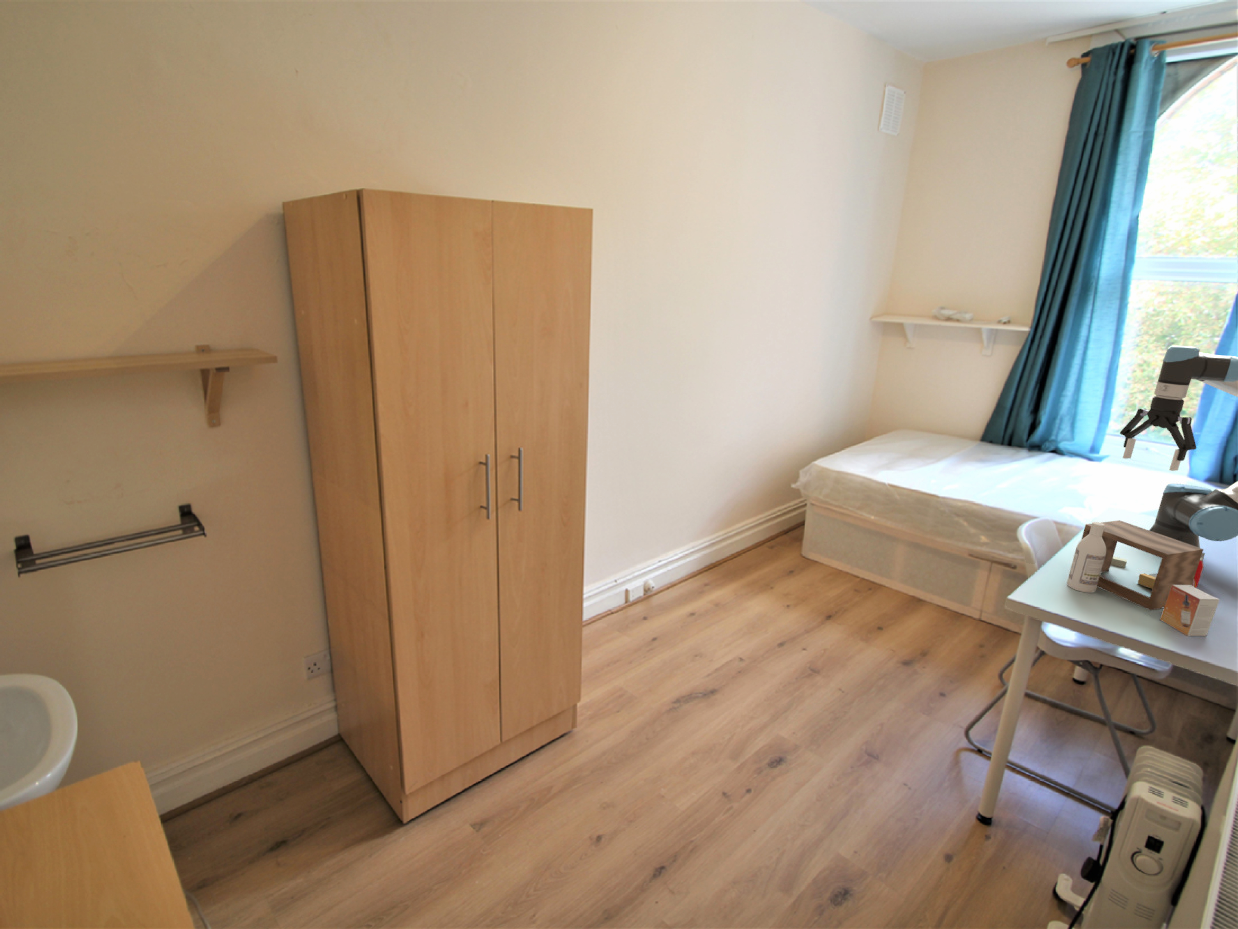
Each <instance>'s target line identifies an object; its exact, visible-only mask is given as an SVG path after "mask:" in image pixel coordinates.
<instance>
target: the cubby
mask: <svg viewBox="0 0 1238 929" xmlns="http://www.w3.org/2000/svg"><path fill="white" fill-rule="evenodd" d="M1100 523H1103V524H1104V525H1105V527H1104V530H1103V534H1102V539H1103V541H1104V543H1105V545H1106V556H1105V560H1104V563H1103V567H1102V570H1101V573H1107V572H1110V569H1111V566H1112V565H1111V562H1112V558H1113V556H1114V554H1115V551H1116V547H1117V543H1121V544H1123V545H1126V546H1129V547H1131V548H1133V549H1136V550H1139V551H1142V552H1145V553H1147V554H1150V555H1153V556H1155V557H1158V558H1161V561H1160V564H1159V567H1158V570H1157V576H1156V579H1155V583H1154V586H1153V589H1151V592H1150V596H1147V595H1146V594H1143V593H1141V592H1140V591H1139V592H1138V591H1137V590H1134V589H1131V588H1130V587H1127V586H1125V585H1122V584H1120V583H1118V582H1116V581H1113V580H1111V579H1109V578H1107V577H1103V576H1101V575H1100V577H1099V581H1098V584H1097V587H1096V588H1099V589H1102V590H1104V591H1107V592H1108V593H1110V594H1113V595H1115V596H1118V597H1119V598H1122V599H1124V600H1126V601H1128V602H1131V603H1133V604H1136V605H1137V606H1139V607H1143V608H1145V609H1146V610H1148V611H1152V610H1159V609H1164V607H1165V604H1166V601H1167V598H1168V595H1169V592H1170V589H1171V586H1172V585H1192V582H1193V579H1194V576H1195V573H1196V570H1197V567H1198V564H1199V561H1200V558H1201V555H1202V553H1204V548H1201V547H1200V548H1199V547H1196V546H1193V545H1190V544H1187V543H1184V542H1181V541H1178V540H1175V539H1172V538H1169V537H1167V536H1164V535H1161V534H1158V533H1155V532H1152V531H1149V530H1150V529H1149V530H1148V529H1145V528H1143V527H1140V526H1138V525H1134V524H1132V523H1128V522H1126V521H1122V520H1113V521H1111V520H1110V521H1104V522H1103V521H1102V522H1100ZM1091 525H1092V523H1086V524H1084V528H1083V532H1082V536H1081V539H1080V541H1081V540H1082V539H1083V538H1084V537H1086V536H1087V535H1088V534H1089V533H1090V529H1091Z"/></svg>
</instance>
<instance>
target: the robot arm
mask: <svg viewBox="0 0 1238 929" xmlns="http://www.w3.org/2000/svg"><path fill="white" fill-rule="evenodd" d="M1200 351H1201V349H1200V348H1199V347H1197V346H1196V347H1194V346H1187V345H1170V346H1168V348H1167V349H1166V352H1165V354H1164V358H1163V359H1162V364H1161V369H1160V372H1159V375H1158V379H1157V382H1156V386H1155V389H1154V395H1155V396H1153V397H1152V399H1151V402H1150V409H1149V410H1148V409H1147V408H1138V409H1137V411H1136V414H1135V415H1134V416H1133V417H1132V419H1130V420H1129V422H1128V423H1127V424H1126V425H1125V426H1124V427H1123V428H1122V429H1121V430H1120V432H1119V434H1120V435H1122V436H1124V437H1125V439H1124V441H1123V448H1125V449H1124V452H1123V456H1122V459H1125V460H1127V459H1131V458H1132V455H1133V453H1134V452H1133V451H1134V448H1135V444H1136V441H1137V438H1135V437H1136V436H1138V435H1139V434H1141V433H1143V432H1144V431H1146V430H1147V429H1149V428H1150V427H1159V428H1161V429H1166V430H1167V431H1168V432H1169V434H1170V435H1171V437H1172V438H1173V439H1172V440H1173V441H1174V442H1175V444H1176V446H1177V448H1178V449H1175V450H1174V454H1173V457H1172V459H1171V462H1170V463H1171V464H1170V466H1169V471H1170V472H1176V471H1178V470H1179V467H1180V463H1181V462H1183V461H1184V460H1185V458H1186V455H1187V452H1188V451H1190V450H1191V451H1194V450H1196V449H1197V445H1196V441H1195V436H1194V432H1193V429H1192V420H1193V418H1192V416H1181V413H1182V411H1183V407H1184V405H1185V400H1184V399H1186V398H1187V394H1188V392H1189V388H1190V387H1189V386H1190V384H1191V381H1192V380H1196V381H1200V382H1202V383H1204V384H1206V385H1208V386H1211V387H1213V388H1215V389H1217V390H1220V391H1223V392H1225V393H1227V394H1229V395H1232V396H1234V397H1236V398H1238V356H1233V355H1219V354H1213V353H1207V352H1200ZM1146 416H1147V417H1148V419H1146V420H1145V421H1144V422H1143V423H1141V424H1140V425H1138V424H1139V423H1140V422H1141V421H1142V420H1143V419H1144V418H1145V417H1146ZM1178 422H1179V424H1180V426H1181V427H1180V428H1181V431H1180V429H1179V425H1178ZM1137 425H1138V426H1137ZM1136 426H1137V427H1136ZM1181 432H1182V433H1181ZM1149 531H1152V532H1155V533H1158V534H1161V535H1164V536H1167V537H1169V538H1172V539H1175V540H1178V541H1181V542H1184V543H1187V544H1190V545H1193V546H1196V547H1199V548H1201V545H1200V544H1201V543H1200V538H1202V539H1203V538H1204V539H1206V540H1208V541H1212V542H1224V541H1225V542H1226V541H1229V540H1232V539H1234V538H1236V537H1238V480H1237V481H1235V482H1234V483H1232V484H1231V485H1229V486H1228V487H1226V488H1215V489H1213V490H1212V489H1211V488H1209V487H1208V488H1207V487H1202V486H1198V485H1192V484H1191V485H1190V484H1181V483H1169V484H1167V485H1166V486H1165V488H1164V490H1163V493H1162V497H1161V500H1160V503H1159V507H1158V511H1157V515H1156V517H1155V520H1154V523H1153V525H1152V526H1151V528H1150V529H1149Z"/></svg>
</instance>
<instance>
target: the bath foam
mask: <svg viewBox="0 0 1238 929" xmlns="http://www.w3.org/2000/svg"><path fill="white" fill-rule="evenodd" d="M1091 524H1092V525H1091V529H1090V533H1089V534H1088V535H1087V536H1086V537H1084V538H1083V539H1082V538H1081V539H1082V540H1081V539H1080V541H1078V543H1077V545H1076V547H1075V551H1074V555H1073V558H1072V562H1071V566H1070V569H1069V572H1068V573H1069V574H1068V577H1067V581H1066V584H1067V586H1068V587H1069V588H1071V589H1073V590H1075V591H1078V592H1082V593H1087V594H1090V593H1094V592H1096V590H1097V588H1098V587H1097V584H1098V581H1099V577H1100V576H1101V574H1102V572H1101V570H1102V567H1103V563H1104V560H1105V556H1106V545H1105V543H1104V541H1103V539H1102V534H1103V530H1104V527H1105V525H1104V524H1103V523H1101V522H1100V521H1099V522H1098V521H1092V522H1091Z"/></svg>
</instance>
